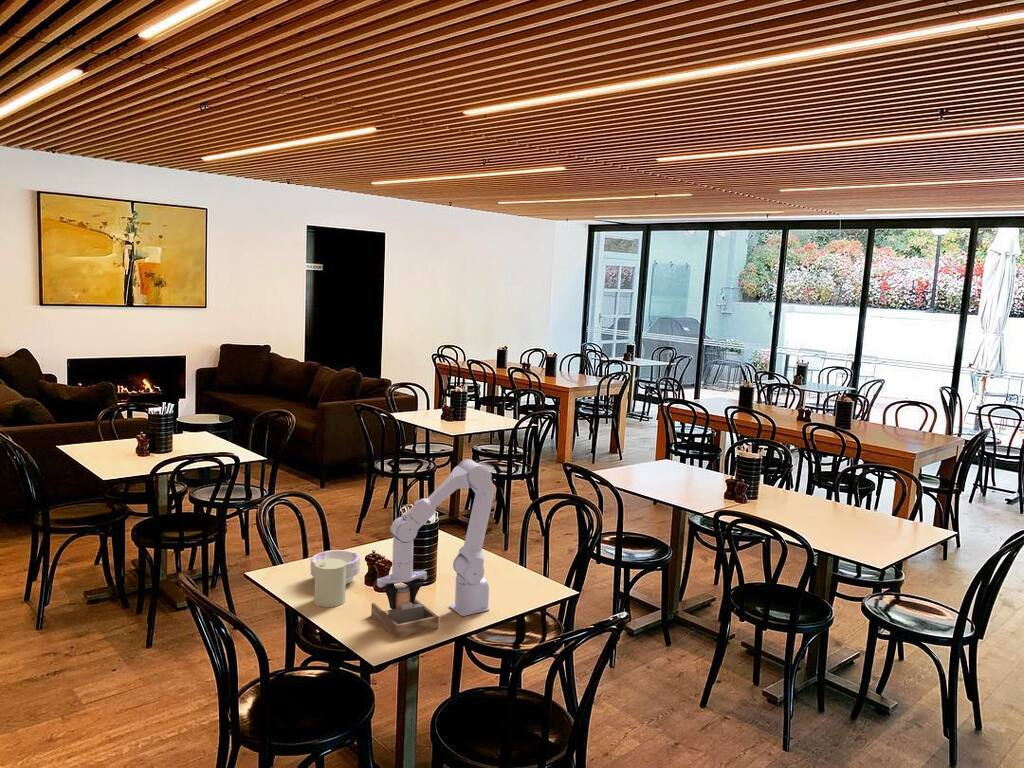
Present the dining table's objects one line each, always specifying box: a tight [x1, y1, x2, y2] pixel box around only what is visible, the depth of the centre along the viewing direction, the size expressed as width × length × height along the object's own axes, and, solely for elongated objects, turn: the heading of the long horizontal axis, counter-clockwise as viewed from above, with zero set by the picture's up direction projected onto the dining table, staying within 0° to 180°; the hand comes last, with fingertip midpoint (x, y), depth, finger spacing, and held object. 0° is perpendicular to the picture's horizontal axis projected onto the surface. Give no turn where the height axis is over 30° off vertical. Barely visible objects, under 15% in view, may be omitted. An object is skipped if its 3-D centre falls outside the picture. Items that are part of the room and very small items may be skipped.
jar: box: [394, 584, 410, 609], centre depth 228 cm, size 5×5×8 cm
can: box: [313, 558, 347, 608], centre depth 238 cm, size 9×9×12 cm
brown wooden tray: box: [370, 598, 440, 639], centre depth 226 cm, size 13×17×4 cm
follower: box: [388, 602, 426, 624], centre depth 225 cm, size 10×2×5 cm, turn 123°
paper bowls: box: [310, 549, 361, 585], centre depth 254 cm, size 15×15×8 cm
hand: (401, 606), depth 228 cm, fingers closed on jar, 5 cm apart
